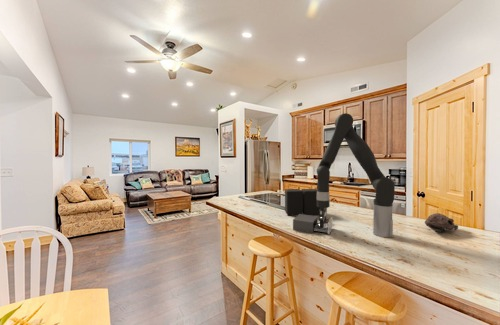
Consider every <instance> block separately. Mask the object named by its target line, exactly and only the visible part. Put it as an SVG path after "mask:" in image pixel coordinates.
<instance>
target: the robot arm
mask: <svg viewBox="0 0 500 325" xmlns="http://www.w3.org/2000/svg"><path fill="white" fill-rule="evenodd" d="M353 124H354V117H353V116H352V114H350V113H342V114H340V115H338V116H337V117H336V119H335V120H334V127H335V129H334V131H333V135H332V137H331V139H330V140H329V142H328V144H327V146H326V148H325V151H324V153H323V155H322V159H321V161H320V162H319V164H318V166H317V168H316V175H317V183H316V189H317V207H320V210H319V215H318V222H319V223H320V227H321V228H324V223H326V218H328V217H327V216H328V213H327V212H328V208H330V206H331V205H330V203H331V202H330V197H331V196H330V178H331V177H330V176H331V171H330V169H331V167H332V165H333V163H334V162H335V160H336V158H337V155H338V152H339V150H340V148H341V145H342V143H343V140H345V142H346V144H347V145H348V148H349V149H350V151H351V153H352V155H353V156H354V158H355V159H356V162H358V164H359V165H360V167H361V168H362V169H363V170H364V173H365V174H366V176H367V177H368V179H369V182H370V183H371V185H372V187H373V189H374V190H375V198H374V199H373V221H372V222H373V223H372V224H373V225H372V226H373V227H372V230H373V231H372V234H373V235H375V236H376V237H381V238H393V237H394V236H393V234H394V232H393V231H394V228H393V227H394V220H393V208H394V207H393V205H394V204H393V203H394V202H395V193H396V192H395V190H396V189H395V182H394V181H393V180H392V179H391V178H389V177H386V176H385V174H384V173H383V172H382V170H381V169H380V168H379V166H378V163H377V159H376V157H375V154H374V152H373V151H372V149H371V148H370V146H369V144H368V143H367V142H366V141H365V140H364V139H363V138H362V137H361V136H360V135H359V134H358V133H357V131H356V130H355V128H354V126H353Z"/></svg>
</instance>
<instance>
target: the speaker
mask: <svg viewBox="0 0 500 325" xmlns="http://www.w3.org/2000/svg"><path fill="white" fill-rule="evenodd" d="M319 210H320V207H317V188H301V189H300V188H286V189H285V190H284V211H285V213H286V215H287V216H298V215H299V214H303V215H311V216H319Z"/></svg>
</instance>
